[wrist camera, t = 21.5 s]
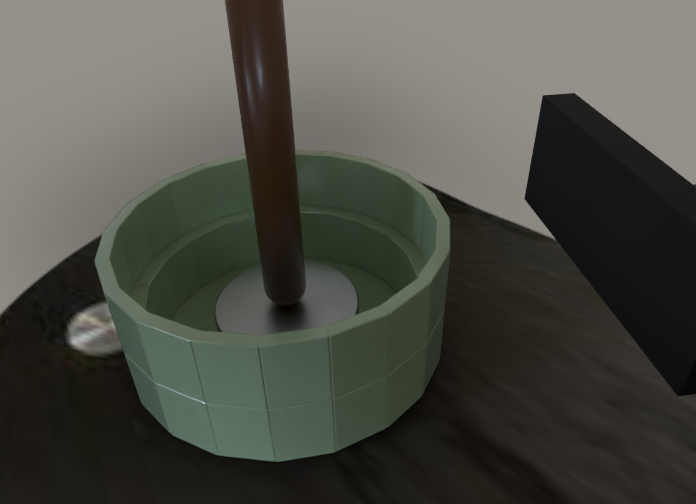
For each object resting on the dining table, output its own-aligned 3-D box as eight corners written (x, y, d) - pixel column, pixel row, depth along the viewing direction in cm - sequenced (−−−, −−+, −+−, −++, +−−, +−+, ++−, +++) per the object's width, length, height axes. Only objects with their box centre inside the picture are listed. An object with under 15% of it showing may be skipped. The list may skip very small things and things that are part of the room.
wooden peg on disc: (248, 406, 26) (157, -94, 15) (202, 314, 31) (109, -109, 20) (385, 350, 28) (393, -110, 17) (321, 274, 33) (297, -119, 23)
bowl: (182, 535, 22) (138, 409, 18) (110, 303, 33) (74, 193, 29) (504, 382, 27) (527, 261, 23) (350, 229, 38) (347, 128, 34)
